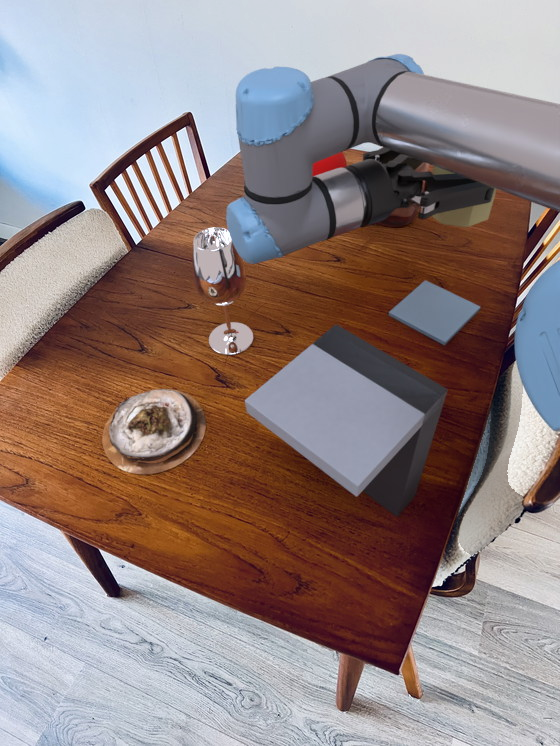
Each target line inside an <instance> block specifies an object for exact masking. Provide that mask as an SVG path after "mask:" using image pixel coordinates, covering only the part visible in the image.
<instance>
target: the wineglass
mask: <svg viewBox="0 0 560 746" xmlns="http://www.w3.org/2000/svg"><path fill="white" fill-rule="evenodd" d="M192 241H193V243H192V276H193V284H194V287H195V290H196V292H197V293H198V295H199V296H200V298H202V300H203V301H205V302H207V303H208V304H210V305H213V306H218V307H222V309H223V314H224V318H225V323H221V324H219V325H217V326H216V327H215V328H213V330H212V331H211V332H210V334H209V336H208V345H209V347H210V348H211V350H212V351H214V352H216V354H220V355H222V356H223V355H224V356H234V355H238V354H241V353H243V352H245V351H246V350H248V349H249V348H250V347H251V346H252V344H253V341H254V332H253V330H252V329H251V328H250V327H249V326H248V325H246V324H245V323H241V322H237V321H232V322H231V318H230V317H231V316H230V313H229V311H230V310H229V305H232V304H234V303H235V302H236V301H238V300H239V299H240V298H241V296H242V295H243V293H245V290H246V287H247V273H246V272H247V271H246V267H245V264H244V260H243V259H242V258H241V257H240V255H239V254H238V252H237V251H236V249H235V247H234V245H233V242H232V240H231V237H230V234H229V231H228V228H225V227H220V226H219V227H217V226H215V227H208V228H205V229H202V230H200V231H198V233H196V235H194V237H193V240H192Z"/></svg>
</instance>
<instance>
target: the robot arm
mask: <svg viewBox="0 0 560 746" xmlns="http://www.w3.org/2000/svg"><path fill="white" fill-rule="evenodd" d="M235 123H236V124H235V126H236V127H235V129H236V134H237V137H238V144H239V152H240V157H241V159H240V160H241V164H242V172H243V179H244V182H243V183H244V184H243V185H244V186H243V192H244V193H243V194H244V196H242V197H239V198H238V199H236V200H233V201H232V202H230V203H229V204H228V205H227V207H226V214H225V219H226V220H225V221H226V227H227V230H228V231H229V234H230V237H231V240H232V242H233V245H234V247H235V249H236V251H237V252H238V254H239V255H240V257H241V258H242V260H243V262H245V263H247V264H250V265H257V264H261V263H263V262H267V261H271V260H274V259H282V258H283V257H285V256H287V255H289V254H292V253H295V252H298V251H300V250H302V249H305V248H308V247H310V246H312V245H315V244H318V243H320V242H326V241H328V240H330V239H332V238H335V237H338V236H342V235H344V234H347V233H351V232H353V231H357V230H358V229H359V228H366V227H369V226H372V225H374V224H377V222H380V221H383V220H385V219H386V218H387V217H388V216H389V215H390V214H391V213H392V212H393V211H394V210H395V209H398V208H408V207H413V208H415V209H416V210H417V218H418V219H420V220H427V219H428V218H431V217H432V216H433V215H435V214H437V213H442V212H447V211H452V210H456V209H461V208H466V207H471V206H476V205H481V204H485V203H489V202H491V199H492V196H493V192H494V189H497V190H498V191H501V192H504V193H507V194H509V195H511V196H515V197H518V198H520V199H522V200H525V201H528V202H530V203H533V204H536V205H539V206H541V207H544V208H547V209H549V210H552V211H555V212H558V213H560V103H557V102H552V101H549V100H545V99H544V100H543V99H539V98H535V97H530V96H525V95H520V94H516V93H511V92H507V91H502V90H498V89H493V88H488V87H484V86H480V85H474V84H470V83H465V82H461V81H456V80H451V79H447V78H443V77H438V76H433V75H429V74H425V73H424V70H423V68H422V67H421V66H420V64H417V63H416V61H415V60H414V58H413V57H411V56H409V55H408V54H404V53H403V54H402V53H395V54H391V55H388V56H387V55H386V56H377V57H375V58H373V59H370V60H368V61H367V62H365V63H364V62H363V63H361V64H358V65H355V66H353V67H350V68H348V69H345V70H341V71H339V72H337V73H334V74H331V75H329V76H325V77H321V78H319V79H316V80H313V81H311V80H310V77H309V75H307V74H306V73H305V72H304V71H302V70H300V69H298V68H295V67H290V66H274V67H271V68H266V67H264V68H259V69H256V70H253V71H251V72H249V73H247V74H246V75H244V76H243V77H242V78H241V80H240V81H239V82H238V84H237V86H236V90H235ZM367 143H369V144H373V145H376V146H378V147H381V149H380V148H379V149H376V150H371V151H366V152H364V153H363V154H362V160H361V161H357V162H354V163H351V164H347V166H346V167H345V168H337V169H334V170H331V171H328V172H325V173H322V174H319V175H316V176H313V164H314V163H316V162H318V161H321V160H323V159H325V158H328V157H330V156H333V155H335V154H337V153H340V152H342V153H344V152H345V151H347V150H350V149H353V148H355V147H358V146H360V145H363V144H367ZM382 147H383V148H382ZM424 162H425V163H428V164H429V165H431V166H433V167H434V166H436V167H439V168H442V169H444V170H447V171H450V172H452V173H455V174H439V175H433V174H432V172H433V171H426V172H416V171H414V170H415V169H417V168H418V167H419V166H420V165H421V164H422V163H424ZM423 181H425V185H424V190H423V192H422V193H421V191H422V186H423ZM514 356H515V363H516V368H517V372H518V375H519V378H520V381H521V384H522V386H523V388H524V391H525V393H526V395H527V397H528V399H529V401H530V403H531V404H532V406H533V408H534V409H535V411H536V412H537V414H538V415H539V416H540V418H541V419H542V420H543V421H544V423H545V424H546V425H547V426H548V427H549V428H550V429H551V430H552V431H553V432H555V433H556V432H560V259H557V261H555V262H554V263H553V264H551V266H549V267H548V268H547V269H546V270H545V271H544V272H543V273H542V274H541V275H540V276H539V277H538V278H537V279H536V281H535V282H534V283H533V285H532V286H531V287H530V288H529V290H528V292H527V294H526V296H525V298H524V301H523V304H522V307H521V310H520V312H519V313H518V316H517V320H516V323H515V330H514Z"/></svg>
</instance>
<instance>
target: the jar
mask: <svg viewBox="0 0 560 746" xmlns="http://www.w3.org/2000/svg"><path fill="white" fill-rule="evenodd" d="M431 172H432V174H433V175H439V174H455V173H452V172H450V171H447V170H444V169H442V168H439V167H436V166H433V167H432V171H431ZM497 190H498V189H494V192H493V196H492V199H491V202H489V203H485V204H481V205H476V206H471V207H466V208H461V209H456V210H452V211H447V212H442V213H437V214H435V215H433V216H431V217H432V218H433V219H435V220H436V221H437V222H438V223H440V224H441V225H443V226H444V225H446V226H453V227H459V228H469V227H472V226H474V225H477V224H480V223H482V222H485V221H487V220H489V218H490V214H491V210H492V208H493V204H494V200H495V197H496V193H497Z"/></svg>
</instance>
